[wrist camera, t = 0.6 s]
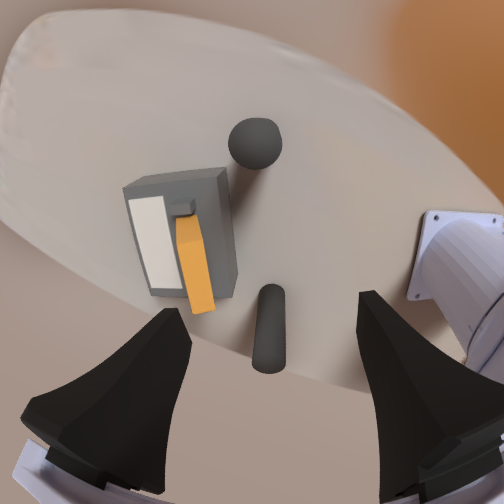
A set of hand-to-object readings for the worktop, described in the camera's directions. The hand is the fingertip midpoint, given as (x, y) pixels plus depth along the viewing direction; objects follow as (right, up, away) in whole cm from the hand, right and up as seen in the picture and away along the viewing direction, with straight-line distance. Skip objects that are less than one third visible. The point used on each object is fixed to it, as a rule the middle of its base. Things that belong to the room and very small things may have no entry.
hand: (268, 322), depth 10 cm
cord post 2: (+1, -1, +11) cm, 11 cm away
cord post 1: (0, +10, +5) cm, 11 cm away
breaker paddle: (-4, +3, +6) cm, 8 cm away
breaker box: (-5, +5, +9) cm, 11 cm away
